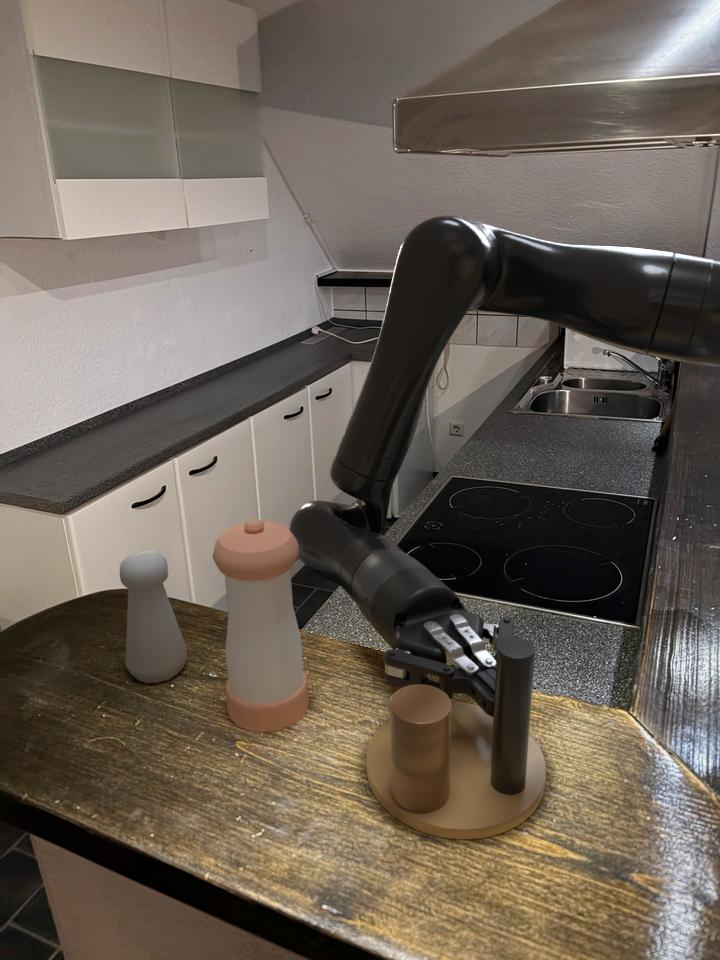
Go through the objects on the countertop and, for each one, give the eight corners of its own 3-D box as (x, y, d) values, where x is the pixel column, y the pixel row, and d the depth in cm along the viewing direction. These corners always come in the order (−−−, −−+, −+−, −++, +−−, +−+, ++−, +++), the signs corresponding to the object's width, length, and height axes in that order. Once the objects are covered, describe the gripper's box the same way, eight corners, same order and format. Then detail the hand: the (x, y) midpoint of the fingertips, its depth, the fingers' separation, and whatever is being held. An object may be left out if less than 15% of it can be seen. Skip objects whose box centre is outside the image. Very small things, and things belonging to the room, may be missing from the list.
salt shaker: (146, 656, 77) (128, 541, 73) (198, 661, 76) (185, 545, 71) (117, 691, 72) (97, 570, 67) (174, 698, 71) (157, 575, 66)
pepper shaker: (322, 698, 70) (313, 509, 63) (287, 750, 64) (272, 546, 57) (253, 681, 73) (237, 498, 66) (212, 730, 67) (190, 532, 60)
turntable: (573, 752, 62) (587, 613, 57) (495, 872, 51) (504, 715, 46) (425, 691, 69) (426, 564, 65) (331, 785, 59) (324, 642, 54)
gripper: (338, 582, 68) (434, 692, 53) (465, 551, 73) (586, 644, 58) (341, 653, 71) (433, 777, 56) (463, 619, 76) (578, 724, 61)
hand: (511, 709), depth 57 cm, fingers closed
